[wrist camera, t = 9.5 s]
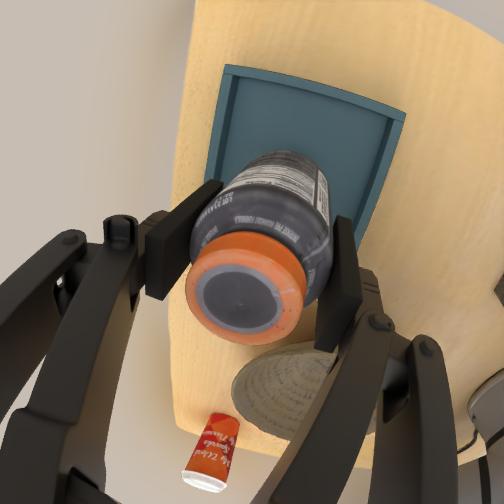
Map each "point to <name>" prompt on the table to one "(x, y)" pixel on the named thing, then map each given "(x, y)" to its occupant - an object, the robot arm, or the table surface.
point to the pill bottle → (262, 250)
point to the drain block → (500, 290)
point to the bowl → (283, 388)
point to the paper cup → (213, 454)
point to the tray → (306, 135)
